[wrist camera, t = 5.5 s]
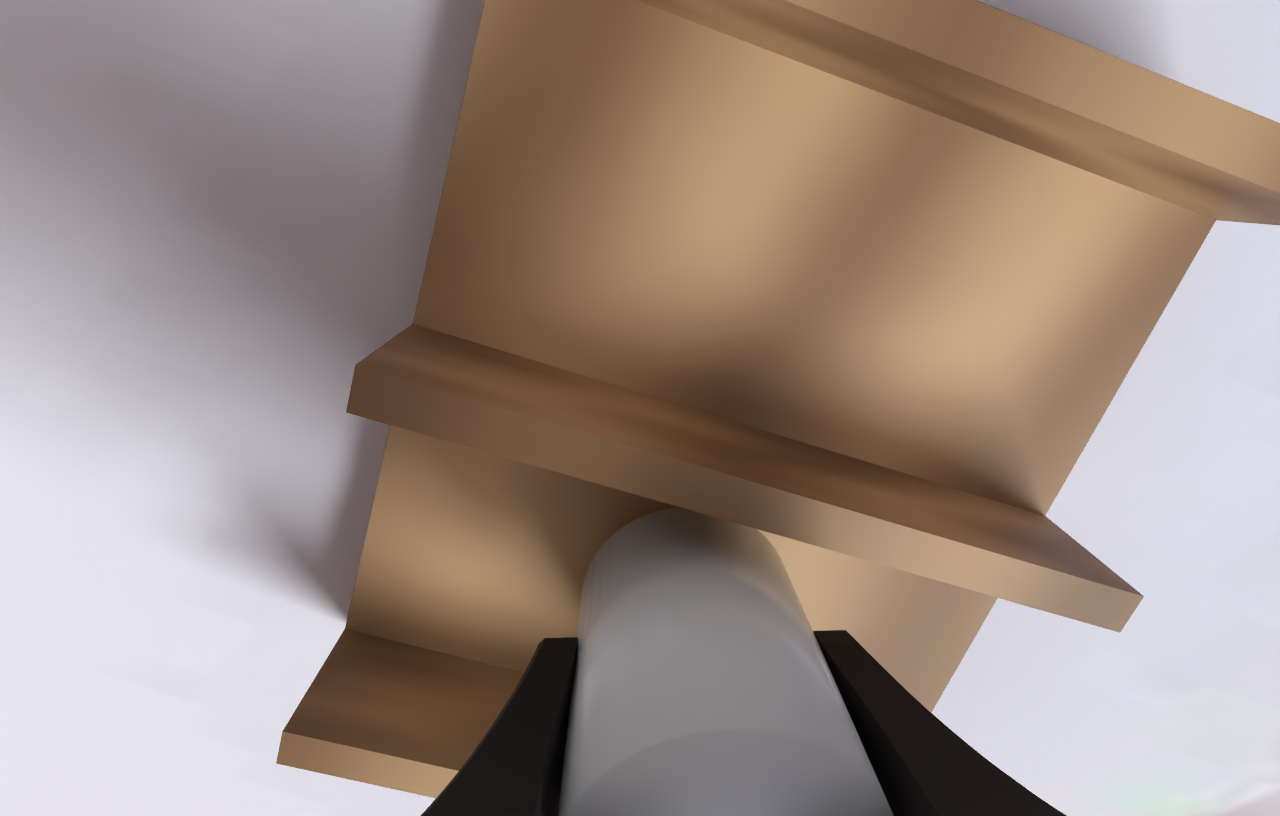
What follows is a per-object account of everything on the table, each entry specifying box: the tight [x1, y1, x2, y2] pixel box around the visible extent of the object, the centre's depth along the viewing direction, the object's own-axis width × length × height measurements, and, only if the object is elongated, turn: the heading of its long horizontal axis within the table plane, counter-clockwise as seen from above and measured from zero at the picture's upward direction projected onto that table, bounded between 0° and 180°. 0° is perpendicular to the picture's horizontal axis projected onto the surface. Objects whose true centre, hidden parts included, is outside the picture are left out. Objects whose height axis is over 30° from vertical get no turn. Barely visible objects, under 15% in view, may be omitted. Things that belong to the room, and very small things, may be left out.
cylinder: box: [558, 507, 894, 816], centre depth 11 cm, size 4×4×6 cm
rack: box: [276, 0, 1280, 798], centre depth 13 cm, size 14×16×4 cm
